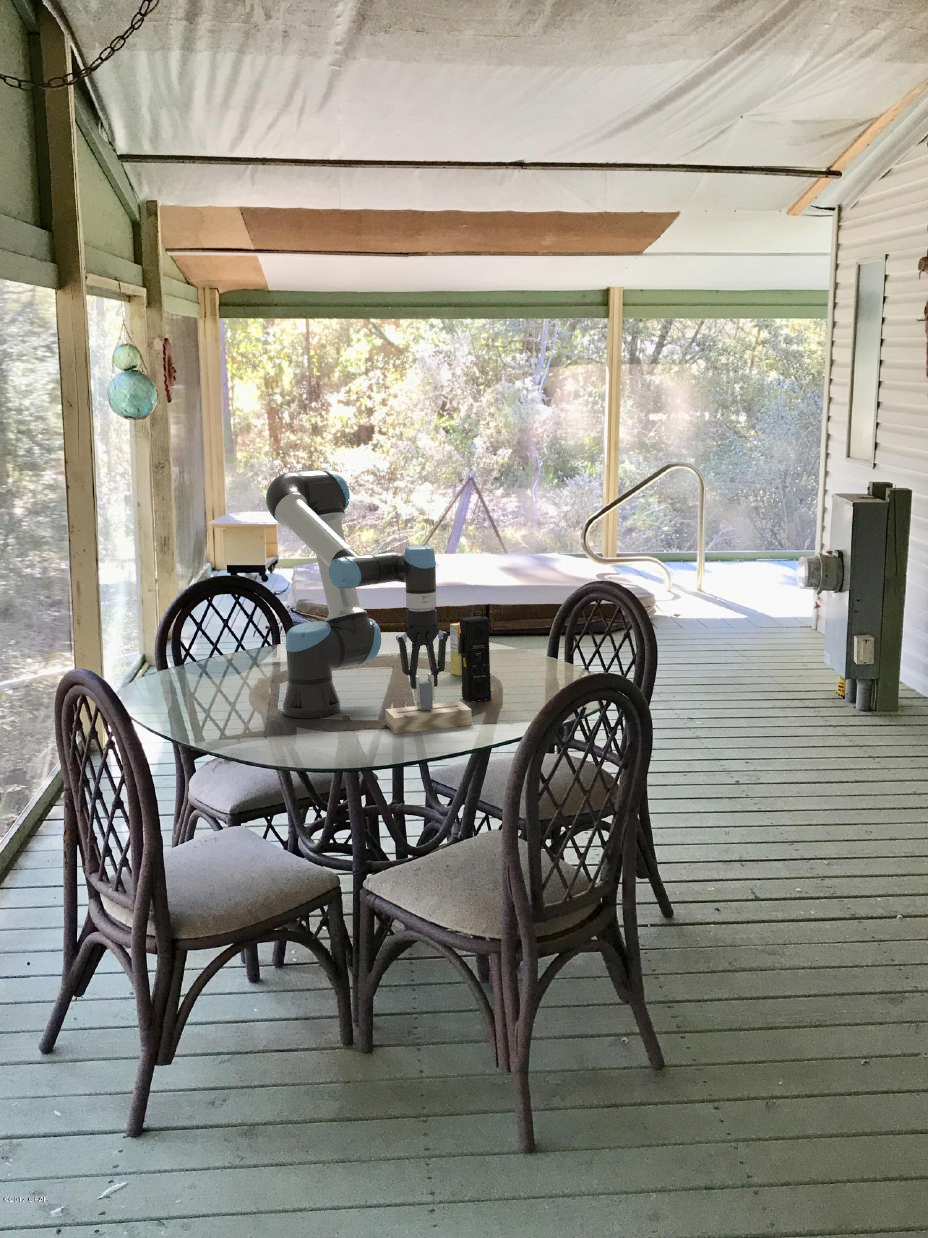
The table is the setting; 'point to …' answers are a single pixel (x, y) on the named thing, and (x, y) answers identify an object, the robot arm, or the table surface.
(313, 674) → the robot arm
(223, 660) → the table surface
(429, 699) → the blue-grey rectangular block
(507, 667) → the table surface
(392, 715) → the wooden block with slot
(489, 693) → the portable radio
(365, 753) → the table surface
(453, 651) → the candy box
